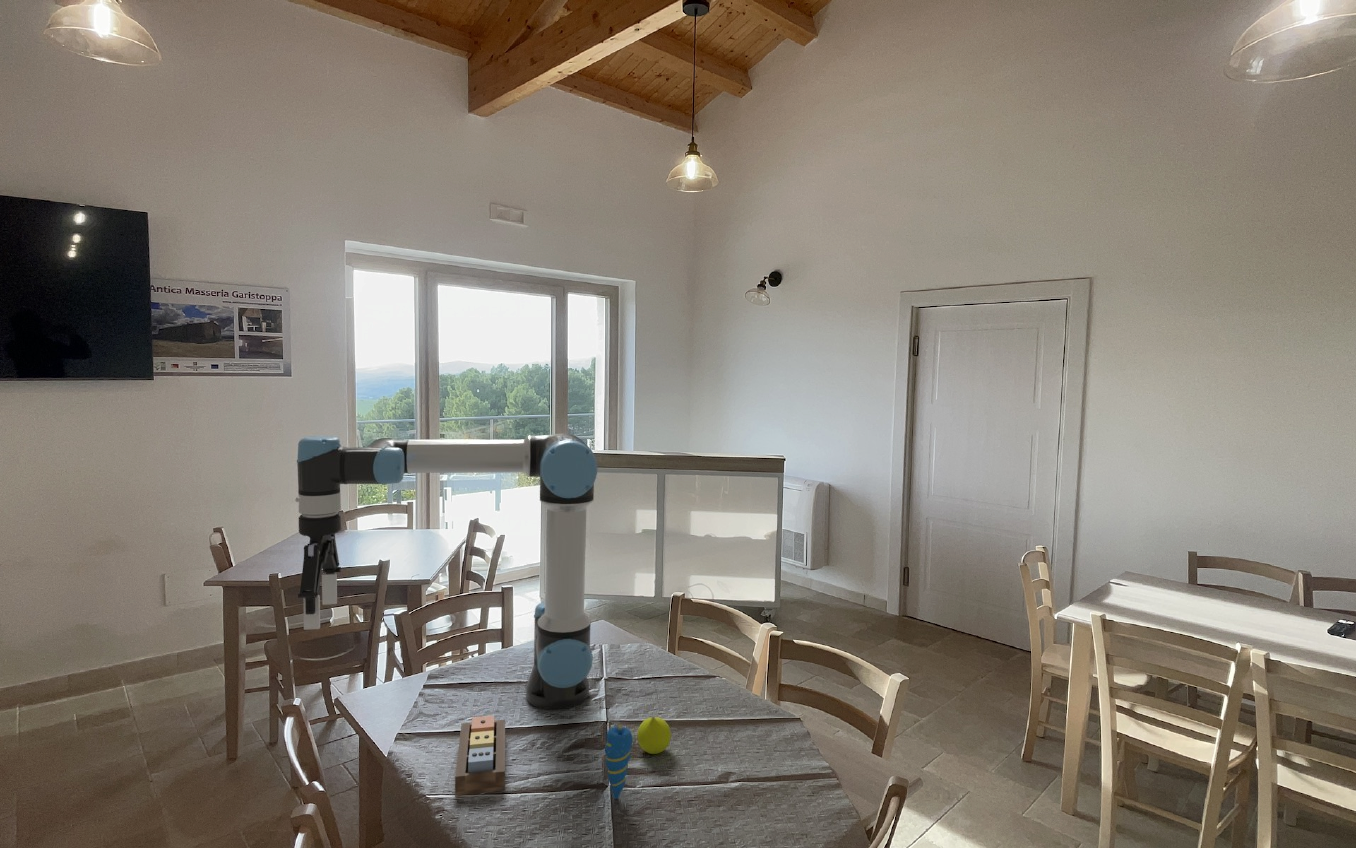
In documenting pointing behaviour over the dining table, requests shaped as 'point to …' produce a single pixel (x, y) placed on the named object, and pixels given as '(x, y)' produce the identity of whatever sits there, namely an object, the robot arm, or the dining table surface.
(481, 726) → the tile one
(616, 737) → the ornament
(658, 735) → the yellow pointed oval
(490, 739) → the tile two
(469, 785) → the key strip
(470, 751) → the tile three
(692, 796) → the dining table surface
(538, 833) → the dining table surface
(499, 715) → the dining table surface
